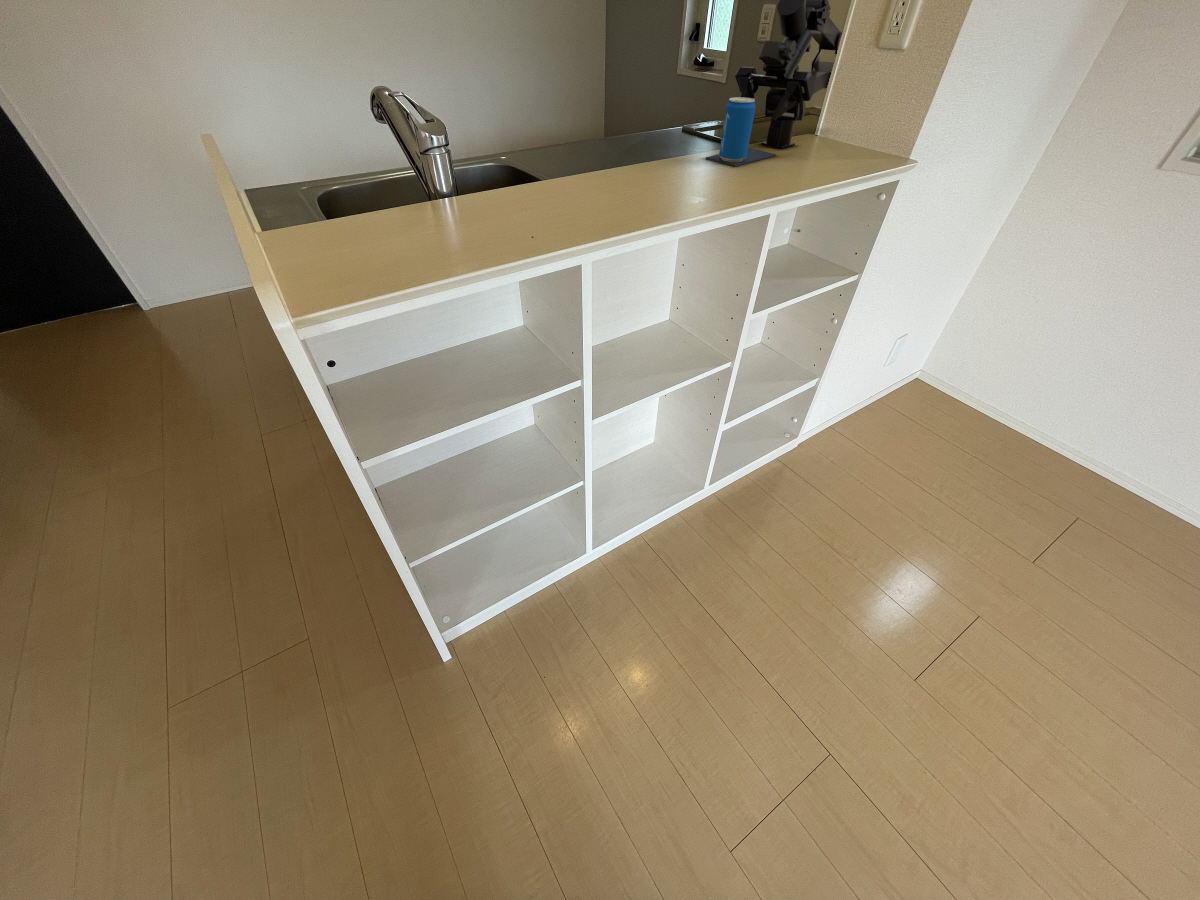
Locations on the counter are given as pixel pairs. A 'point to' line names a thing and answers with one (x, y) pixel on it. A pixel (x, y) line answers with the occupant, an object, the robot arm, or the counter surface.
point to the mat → (751, 157)
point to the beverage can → (737, 129)
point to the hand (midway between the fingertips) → (755, 116)
